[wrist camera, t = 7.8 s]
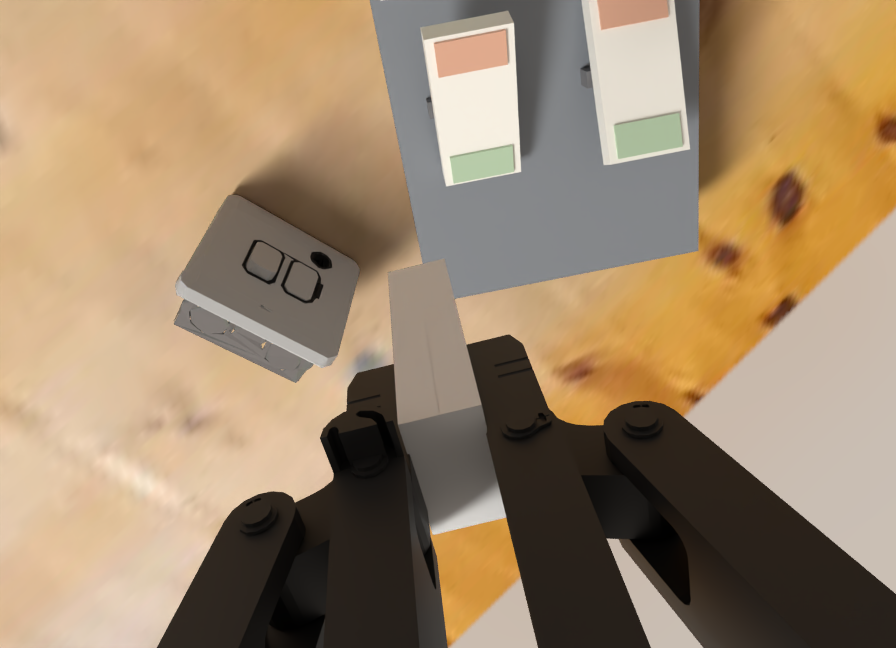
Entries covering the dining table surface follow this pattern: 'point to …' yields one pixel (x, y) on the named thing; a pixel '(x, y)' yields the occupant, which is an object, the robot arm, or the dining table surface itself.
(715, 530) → the robot arm
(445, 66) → the rocker
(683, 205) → the console
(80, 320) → the dining table surface
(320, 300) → the electrical switch
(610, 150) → the rocker
